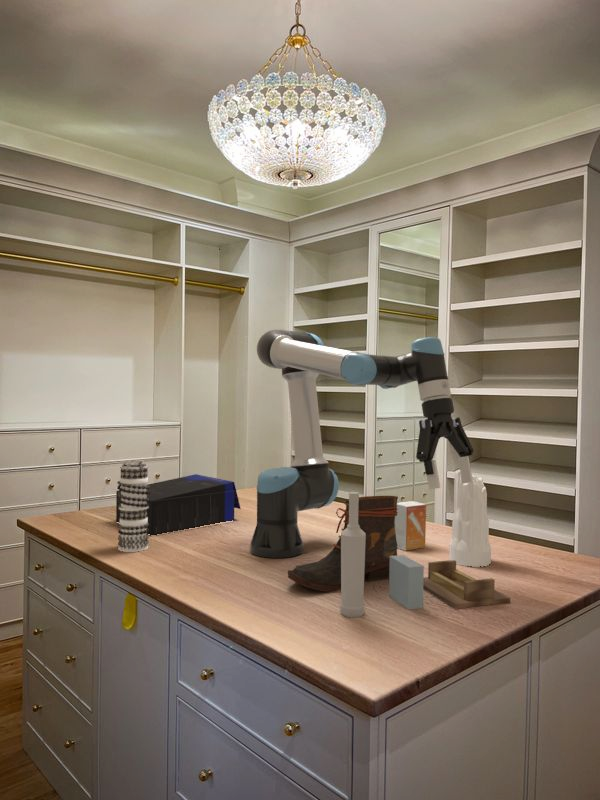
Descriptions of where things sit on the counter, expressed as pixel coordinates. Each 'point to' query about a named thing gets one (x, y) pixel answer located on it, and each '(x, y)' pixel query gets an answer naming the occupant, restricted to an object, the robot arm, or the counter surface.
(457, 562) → the decorative vase
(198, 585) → the counter surface
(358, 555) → the bottle
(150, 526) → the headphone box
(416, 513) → the small box
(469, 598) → the track sill
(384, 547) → the ankle boot
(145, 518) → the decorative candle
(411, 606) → the light gray rectangular block
